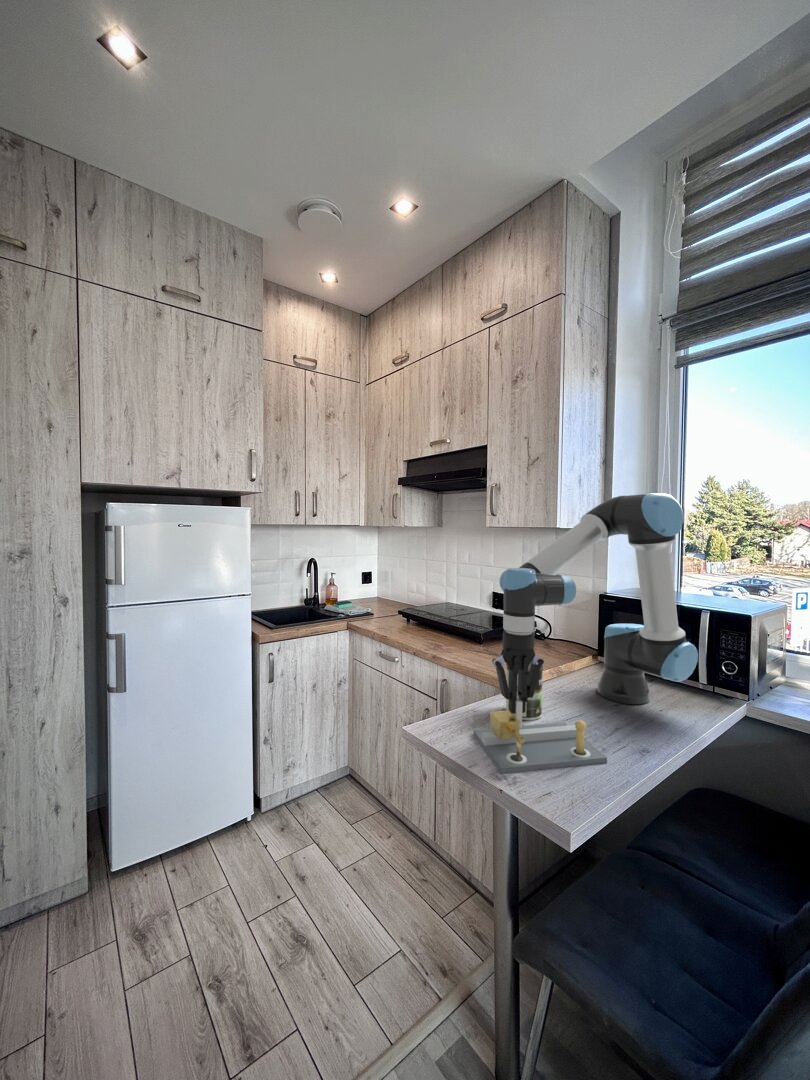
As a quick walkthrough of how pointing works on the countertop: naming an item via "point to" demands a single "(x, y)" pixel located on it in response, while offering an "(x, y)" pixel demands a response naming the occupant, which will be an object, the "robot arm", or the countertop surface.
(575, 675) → the countertop surface
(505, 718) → the pointer
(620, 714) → the countertop surface
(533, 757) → the gauge board
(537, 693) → the coffee can
